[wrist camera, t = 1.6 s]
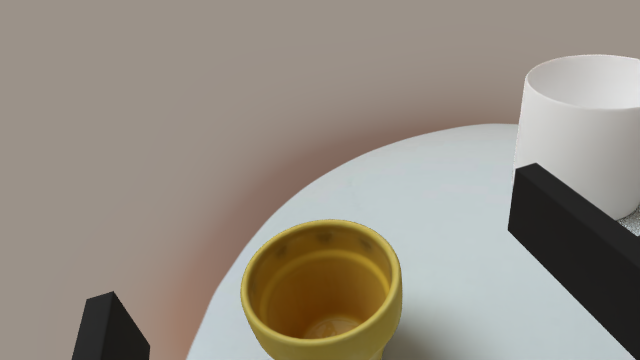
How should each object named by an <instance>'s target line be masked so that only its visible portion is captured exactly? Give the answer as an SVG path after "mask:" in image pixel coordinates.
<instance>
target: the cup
mask: <svg viewBox="0 0 640 360" xmlns="http://www.w3.org/2000/svg"><path fill="white" fill-rule="evenodd" d="M533 163H538V164H539V165H540V166H542V167H543V168H544V169H546V170H547V171H549V172H550V173H551V174H553V175H554V176H555V177H557V178H558V179H559V180H561V181H562V182H564V183H565V184H566V185H568V186H569V187H570V188H572V189H573V190H574V191H576V192H577V193H579V194H580V195H581V196H583V197H584V198H585V199H587V200H588V201H589V202H591V203H592V204H594V205H595V206H596V207H598V208H599V209H600V210H602V211H603V212H604V213H606V214H607V215H608V216H610V217H611V218H613V219H614V220H618V219H621V218H623V217H626V216H628V215H629V214H631V213H632V212H633V211H635V210H636V208H637V207H638V205H639V204H640V60H639V59H635V58H628V57H622V56H612V55H576V56H567V57H562V58H557V59H553V60H549V61H546V62H544V63H542V64H539V65H537V66H536V67H534V68H533V69H532V70H530V71H529V72H528V74H527V75H526V77H525V84H524V92H523V100H522V106H521V113H520V121H519V128H518V135H517V143H516V150H515V157H514V165H513V172H512V186H513V185H514V177H515V170H516V168H520V167H523V166H526V165H530V164H533Z"/></svg>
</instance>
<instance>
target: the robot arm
mask: <svg viewBox="0 0 640 360" xmlns="http://www.w3.org/2000/svg"><path fill="white" fill-rule="evenodd" d="M508 231H509V232H510V233H511V234H512V235H513V236H514V237H515V238H516V239H517V240H518V241H519V242H520V243H521V244H522V245H523V246H524V247H525V248H526V249H527V250H528V251H529V252H530V253H531V254H532V255H533V256H534V257H535V258H536V259H537V260H538V261H539V262H540V263H541V264H542V265H543V266H544V267H545V268H546V269H547V270H548V271H549V272H550V273H551V274H552V275H553V276H554V277H555V278H556V279H557V280H558V281H559V282H560V283H561V284H562V285H563V286H564V287H565V288H566V289H567V290H568V291H569V293H570V294H571V295H572V296H573V297H574V298H575V299H576V300H577V301H578V302H579V303H580V304H581V305H582V306H583V307H584V308H585V309H586V310H587V311H588V312H589V313H590V314H591V315H592V316H593V317H594V318H595V319H596V320H597V321H598V322H599V323H600V324H601V325H602V326H603V327H604V328H605V329H606V330H607V331H608V332H609V333H610V334H611V335H612V336H613V337H614V338H615V339H616V340H617V341H618V342H619V343H620V344H621V345H622V346H623V347H624V348H625V349H626V350H627V351H628V352H629V353H630V354H631V355H632V356H633V357H634V358H635V359H636V360H640V236H636V235H634V234H633V233H632V232H630V231H629V230H628V229H626V228H625V227H623V226H622V225H621V224H619V223H618V222H617V221H615V220H614V219H613V218H611V217H610V216H608V215H607V214H606V213H604V212H603V211H602V210H600V209H599V208H598V207H596V206H595V205H594V204H592V203H591V202H589V201H588V200H587V199H585V198H584V197H583V196H581V195H580V194H579V193H577V192H576V191H574V190H573V189H572V188H570V187H569V186H568V185H566V184H565V183H564V182H562V181H561V180H559V179H558V178H557V177H555V176H554V175H553V174H551V173H550V172H549V171H547V170H546V169H544V168H543V167H542V166H540V165H539V164H538V163H533V164H530V165H526V166H523V167H520V168H516V170H515V177H514V185H513V193H512V200H511V208H510V216H509V223H508ZM149 354H150V345H149V343H148V342H147V340H146V339H145V337H144V336H143V334H142V333H141V331H140V330H139V328H138V327H137V325H136V324H135V323H134V321H133V320H132V318H131V317H130V315H129V314H128V312H127V311H126V309H125V308H124V307H123V305H122V303H121V302H120V300H119V299H118V297H117V296H116V294H115V293H114V291H113V292H109V293H106V294H103V295H100V296H96V297H93V298H90V299H87V301H86V305H85V308H84V312H83V316H82V321H81V324H80V328H79V332H78V337H77V340H76V345H75V348H74V352H73V356H72V360H149Z"/></svg>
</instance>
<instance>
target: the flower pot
mask: <svg viewBox="0 0 640 360" xmlns="http://www.w3.org/2000/svg"><path fill="white" fill-rule="evenodd" d="M240 294H241V302H242V307H243V310H244V313H245V315H246V318H247V320H248V322H249V324H250V327H251V329H252V331H253V332H254V334H255V336H256V338H257V340H258V341H259V343H260V345H261V346H262V348H263V349H264V350H265V351H266V352H267V353H268V354H269V355H270V356H271V357H272V358H273V359H274V360H381V358H382V354H383V350H384V347H385V345H386V344H387V343H388V342H389V340H390V339H391V337H392V336H393V334H394V332H395V330H396V328H397V326H398V324H399V321H400V317H401V311H402V277H401V268H400V263H399V260H398V257H397V255H396V253H395V251H394V250H393V248H392V247H391V245H390V244H389V243H388V242H387V241H386V240H385V239H384V238H383V237H382V236H381V235H380V234H378V233H377V232H375V231H374V230H372V229H370V228H368V227H366V226H364V225H361V224H358V223H355V222H351V221H345V220H333V219H329V220H317V221H311V222H307V223H303V224H299V225H296V226H294V227H291V228H289V229H287V230H285V231H283V232H281V233H279V234H277V235H276V236H274V237H273V238H271V239H270V240H269V241H267V242H266V243H265V244H264V245H263V246H262V247H261V248H260V249H259V250H258V251H257V252H256V253H255V254H254V256H253V257H252V258H251V260H250V261H249V263H248V265H247V267H246V269H245V272H244V274H243V278H242V283H241V292H240Z"/></svg>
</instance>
